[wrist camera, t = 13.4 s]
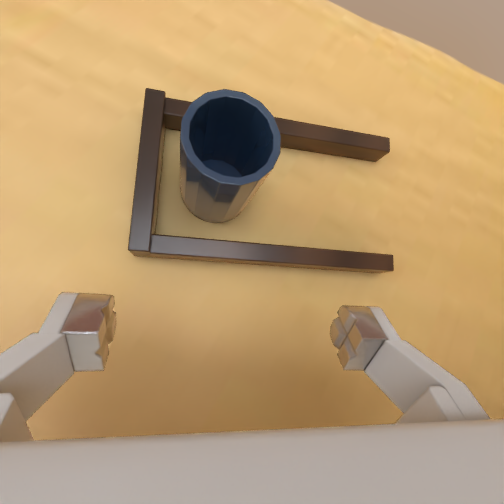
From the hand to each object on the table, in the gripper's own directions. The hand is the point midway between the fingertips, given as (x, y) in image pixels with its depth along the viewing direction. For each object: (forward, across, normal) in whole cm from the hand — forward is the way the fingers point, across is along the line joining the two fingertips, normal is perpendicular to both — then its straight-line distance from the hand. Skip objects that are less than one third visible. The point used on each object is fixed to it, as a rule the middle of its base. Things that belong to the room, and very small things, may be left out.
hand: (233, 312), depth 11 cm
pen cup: (+13, 0, +1) cm, 13 cm away
